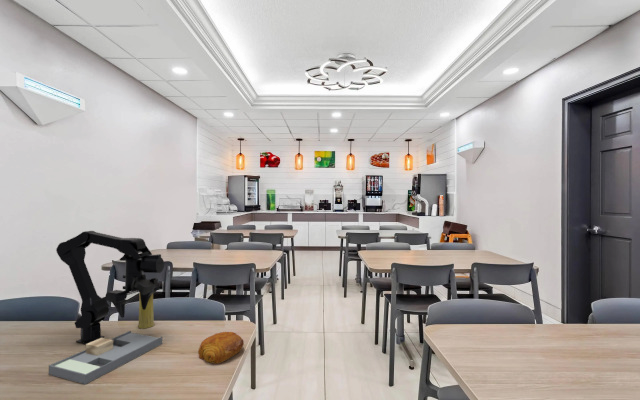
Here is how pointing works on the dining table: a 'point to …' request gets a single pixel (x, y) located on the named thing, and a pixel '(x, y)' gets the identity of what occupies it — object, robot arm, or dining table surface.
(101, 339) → the beech block
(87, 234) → the robot arm
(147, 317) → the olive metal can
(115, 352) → the box
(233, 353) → the croissant
